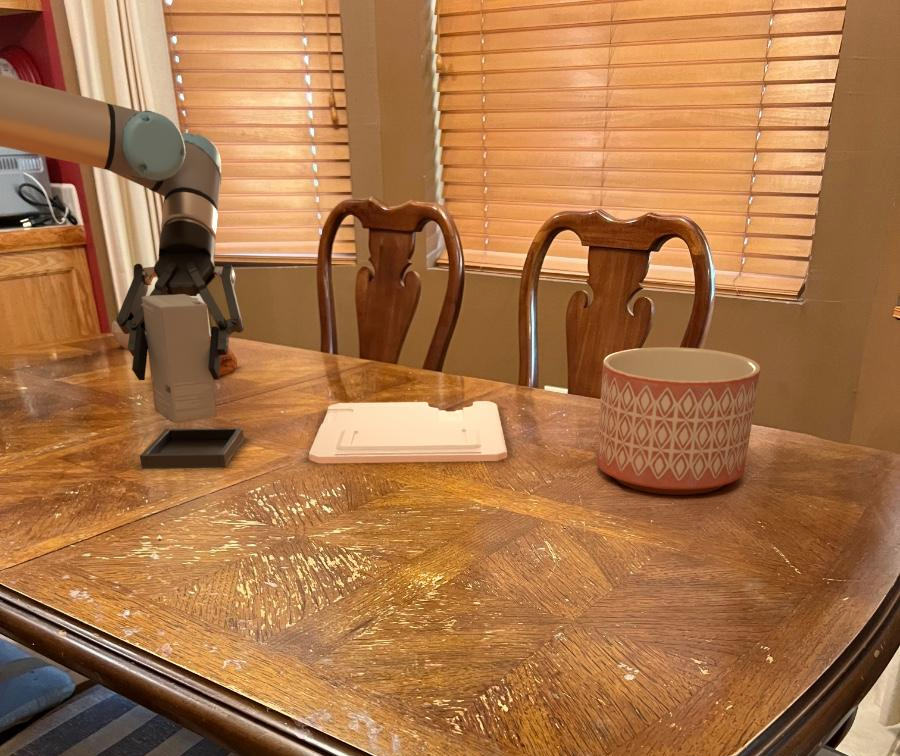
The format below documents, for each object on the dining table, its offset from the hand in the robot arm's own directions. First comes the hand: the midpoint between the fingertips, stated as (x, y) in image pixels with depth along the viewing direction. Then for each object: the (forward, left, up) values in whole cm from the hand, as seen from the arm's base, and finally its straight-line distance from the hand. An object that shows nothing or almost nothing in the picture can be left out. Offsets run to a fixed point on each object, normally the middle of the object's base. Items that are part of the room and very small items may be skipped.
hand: (176, 374), depth 116 cm
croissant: (-12, +54, -13) cm, 57 cm away
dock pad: (0, +3, -12) cm, 13 cm away
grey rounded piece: (-33, +79, -13) cm, 87 cm away
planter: (+66, -8, -13) cm, 68 cm away
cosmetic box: (0, +3, -7) cm, 7 cm away
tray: (+31, +12, -13) cm, 36 cm away
